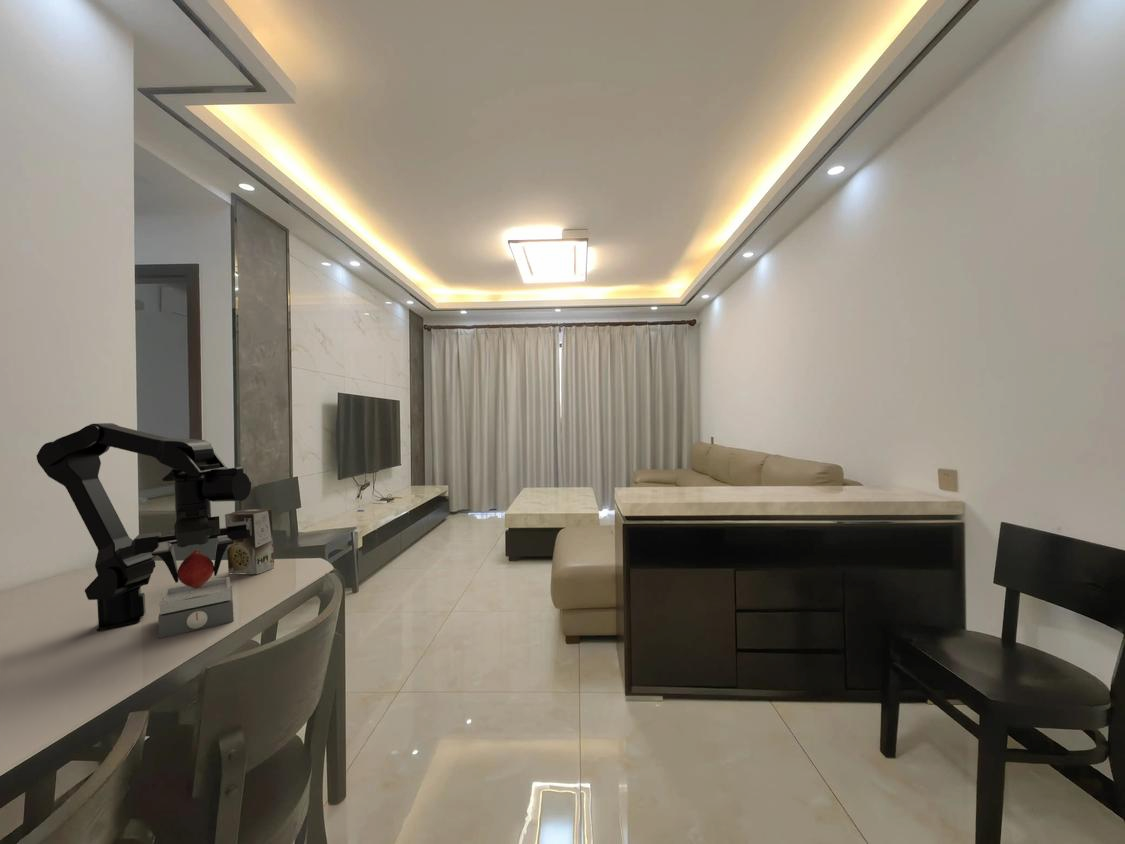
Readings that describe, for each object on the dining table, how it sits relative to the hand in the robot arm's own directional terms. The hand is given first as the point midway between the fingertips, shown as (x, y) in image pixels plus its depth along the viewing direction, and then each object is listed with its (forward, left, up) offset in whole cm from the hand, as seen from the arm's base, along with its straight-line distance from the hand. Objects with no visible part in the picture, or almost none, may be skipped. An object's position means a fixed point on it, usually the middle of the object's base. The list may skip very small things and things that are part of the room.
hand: (196, 578), depth 98 cm
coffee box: (+11, +31, -9) cm, 34 cm away
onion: (0, 0, -2) cm, 2 cm away
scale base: (0, 0, -8) cm, 8 cm away
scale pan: (0, 0, -4) cm, 4 cm away
